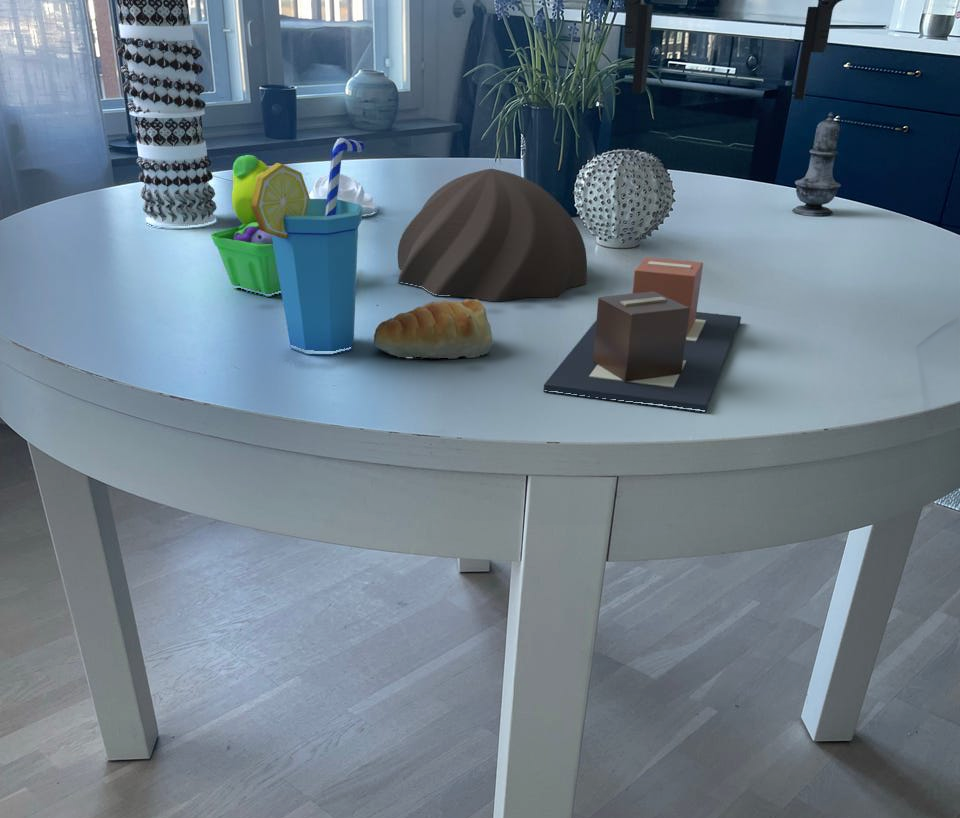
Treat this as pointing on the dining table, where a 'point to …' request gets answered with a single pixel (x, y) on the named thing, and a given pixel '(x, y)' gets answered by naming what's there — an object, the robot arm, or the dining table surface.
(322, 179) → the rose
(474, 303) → the pastry
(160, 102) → the bracelet display cylinder
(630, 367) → the letter block
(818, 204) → the salt shaker
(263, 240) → the fruit basket
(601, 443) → the dining table surface
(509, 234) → the decorative dome
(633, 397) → the word mat
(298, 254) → the cup
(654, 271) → the letter block
